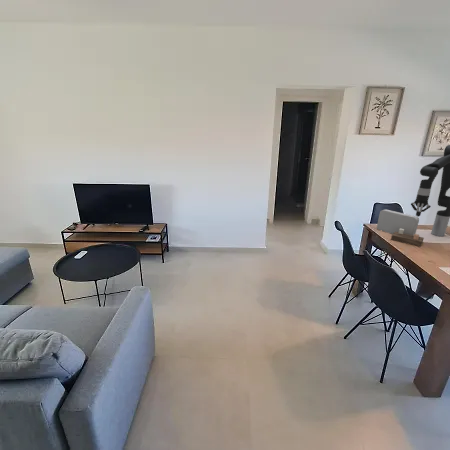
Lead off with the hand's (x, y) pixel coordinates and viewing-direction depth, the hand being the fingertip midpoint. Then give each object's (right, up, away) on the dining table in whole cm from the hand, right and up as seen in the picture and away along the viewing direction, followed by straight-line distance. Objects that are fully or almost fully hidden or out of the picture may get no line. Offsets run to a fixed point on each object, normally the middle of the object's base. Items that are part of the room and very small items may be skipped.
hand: (417, 216), depth 212 cm
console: (-2, -19, +9) cm, 22 cm away
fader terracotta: (0, -17, +2) cm, 18 cm away
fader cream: (-5, -13, +13) cm, 19 cm away
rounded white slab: (-2, -14, +25) cm, 29 cm away
